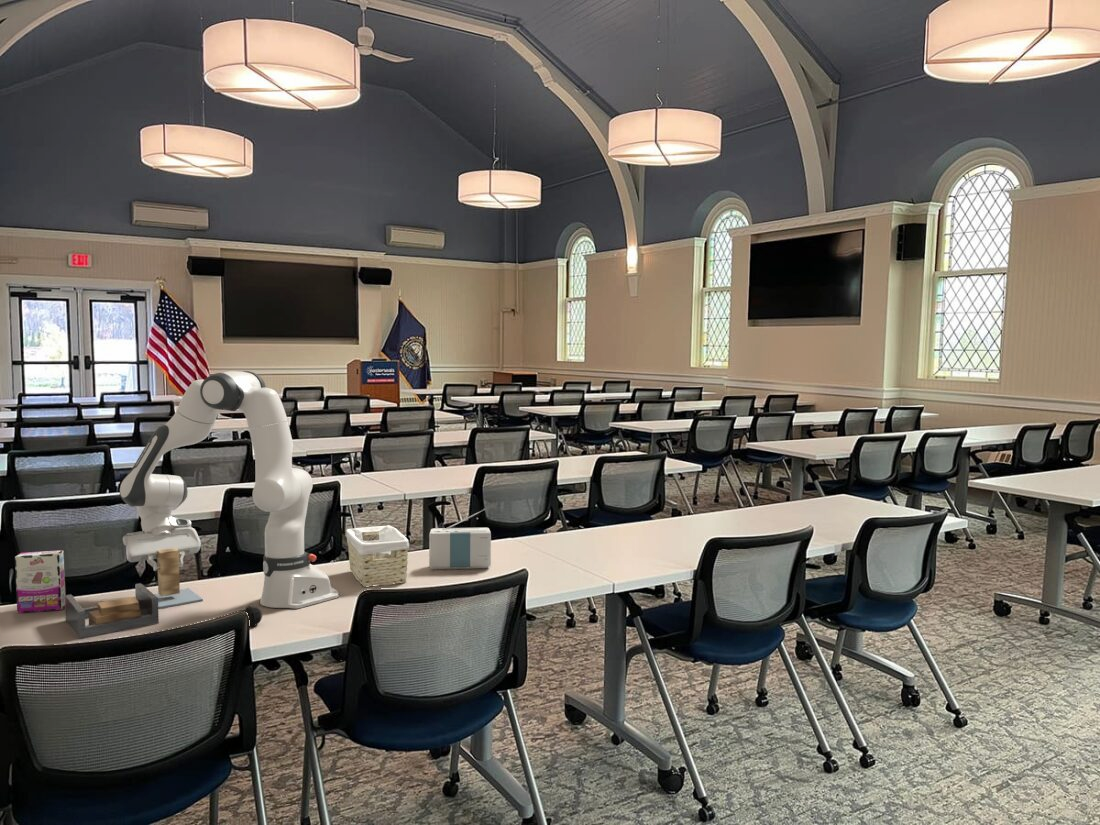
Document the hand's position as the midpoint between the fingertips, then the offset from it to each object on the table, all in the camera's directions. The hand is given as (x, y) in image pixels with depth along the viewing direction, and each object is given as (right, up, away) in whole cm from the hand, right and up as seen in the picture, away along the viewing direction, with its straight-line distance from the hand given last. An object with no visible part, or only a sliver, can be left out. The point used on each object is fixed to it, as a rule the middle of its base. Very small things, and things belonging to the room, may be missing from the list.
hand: (169, 567), depth 239 cm
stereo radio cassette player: (+81, -8, +41) cm, 92 cm away
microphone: (+26, -12, -24) cm, 37 cm away
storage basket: (+55, -9, +28) cm, 63 cm away
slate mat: (0, -10, +2) cm, 10 cm away
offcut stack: (-5, -12, -20) cm, 23 cm away
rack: (-7, -11, -18) cm, 23 cm away
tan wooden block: (-1, -8, +1) cm, 8 cm away
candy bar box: (-32, -10, -8) cm, 35 cm away
